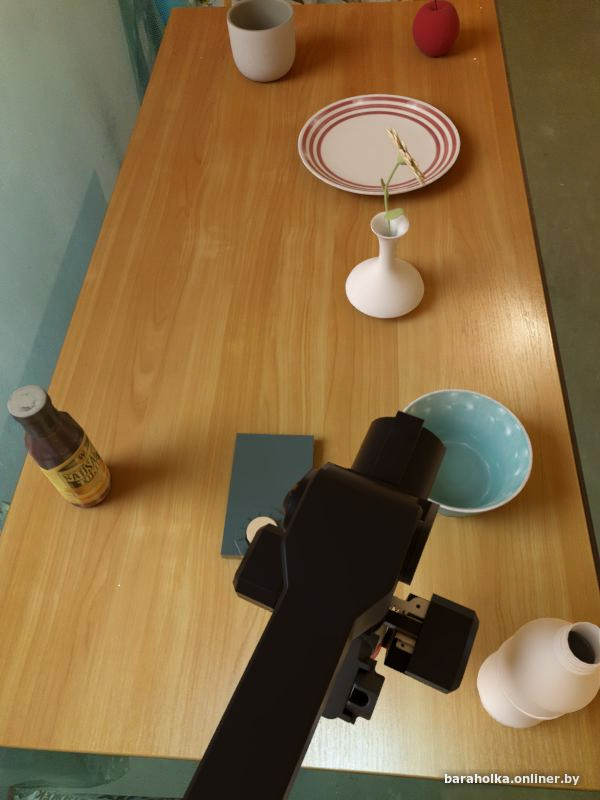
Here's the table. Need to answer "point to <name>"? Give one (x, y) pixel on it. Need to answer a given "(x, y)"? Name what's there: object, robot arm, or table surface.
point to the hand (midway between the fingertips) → (351, 626)
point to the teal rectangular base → (262, 483)
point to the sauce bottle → (60, 447)
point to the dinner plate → (377, 143)
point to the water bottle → (541, 672)
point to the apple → (436, 27)
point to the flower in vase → (388, 258)
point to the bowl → (474, 451)
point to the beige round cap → (257, 526)
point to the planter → (262, 38)
